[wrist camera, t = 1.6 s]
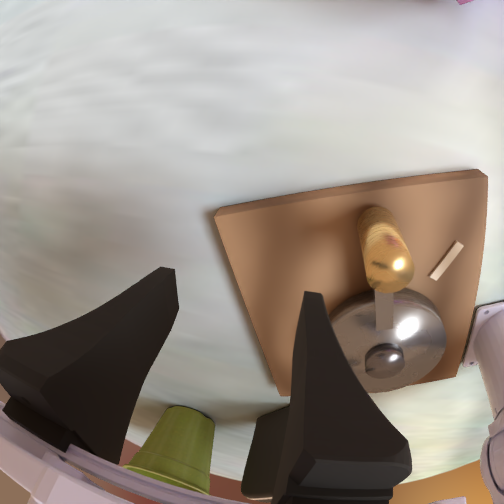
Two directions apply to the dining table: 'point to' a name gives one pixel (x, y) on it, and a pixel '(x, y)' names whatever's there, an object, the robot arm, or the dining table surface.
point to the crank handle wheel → (388, 313)
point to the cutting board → (356, 255)
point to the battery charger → (265, 456)
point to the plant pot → (178, 450)
